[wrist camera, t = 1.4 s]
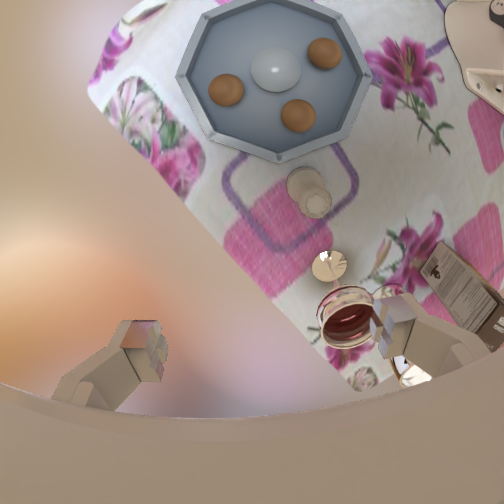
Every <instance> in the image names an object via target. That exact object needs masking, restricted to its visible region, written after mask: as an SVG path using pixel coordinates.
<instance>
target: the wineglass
mask: <svg viewBox="0 0 504 504" xmlns="http://www.w3.org/2000/svg"><path fill="white" fill-rule="evenodd" d="M346 267H347V261H346V258H345V256H344V255H343V254H341V253H340V252H338V251H326V252H323V253H321V254H320V255H318V256H317V257H316V258H315V260H314V262H313V264H312V272H313V274H314V276H315V277H316V278H317V279H319V280H321V281H324V282H330V281H333V283H334V287H335V288H334V289H332V290H330V291H329V292H328V293H327V294H326V295H325V296H324V297H323V298H322V300H321V302H320V304H319V306H318V310H317V315H316V316H317V321H318V326H319V328H320V329H321V337H322V339H323V341H324V342H325V343H326V344H327V345H329V346H331V347H333V348H338V349H349V348H353V347H356V346H359V345H361V344H363V343H365V342H367V341H368V340H369V339H371V338H372V335H371V332H370V319H371V316H372V315H373V314H374V313H375V311H374V309H373V304H374V301H375V299H374V297H373V296H372V294H371V293H369V292H368V291H367V290H366V289H365V288H363V287H361V286H358V285H355V284H345V285H341V286H340V285H339V283H338V281H337V279H338V278H340V277H341V276H342V275H343V274H344V272H345V270H346Z"/></svg>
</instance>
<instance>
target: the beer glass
mask: <svg viewBox="0 0 504 504" xmlns="http://www.w3.org/2000/svg"><path fill="white" fill-rule="evenodd" d="M403 293H404V291H403V289H402V288H401V287H400V286H398V285H396V284H389V285H385V286H383V287H381V288H379V289H378V290H377V291H376V292H375V293H374V294H373V297H374V299H379V298H385V297H390V296H396V295H399V294H403ZM388 360H389V362H390V365H391V367H392V369H393V371H394V373H395V375H396V377H397V379H398V381H399V384H400V386H401V387H403V388H407V387H410V386H413V385H416V384H419V383H422V382H425V381H428V380H431V379H432V378H433V377H431V376H430V375H429V374H427V373H426V372H424V371H423V370H422V369H420V368H419V367H417V366H416V365H415V364H413V363H412V362H410V361H409V360H408V359H406V358H405V357H403V355H401V356H397V357H393V358H388Z"/></svg>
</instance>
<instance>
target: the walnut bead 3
mask: <svg viewBox="0 0 504 504" xmlns="http://www.w3.org/2000/svg"><path fill="white" fill-rule="evenodd" d="M307 54H308V57H309V59H310V61H311V62H312V63H313V64H314V65H316V66H317V67H320V68H324V69H329V68H333V67H335V66H337V65H338V64H339V63H340V61H341V59H342V50H341V48H340V46H339V45H338V44H337V43H336V42H335V41H333V40H331V39H329V38H318V39H315V40H313V41H312V42H311V43H310V44H309V46H308V50H307Z"/></svg>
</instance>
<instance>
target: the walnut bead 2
mask: <svg viewBox="0 0 504 504" xmlns="http://www.w3.org/2000/svg"><path fill="white" fill-rule="evenodd" d="M281 120H282V122H283V124H284V126H285V127H286V128H287V129H289V130H291V131H293V132H305V131H307V130H309V129H310V128H311V127H312V126H313V125H314V123H315V120H316V113H315V110H314V108H313V106H312V105H311V104H310V103H309V102H307V101H305V100H302V99H293V100H290V101H289V102H287V103H286V104H285V105H284V106H283V108H282V110H281Z"/></svg>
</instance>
